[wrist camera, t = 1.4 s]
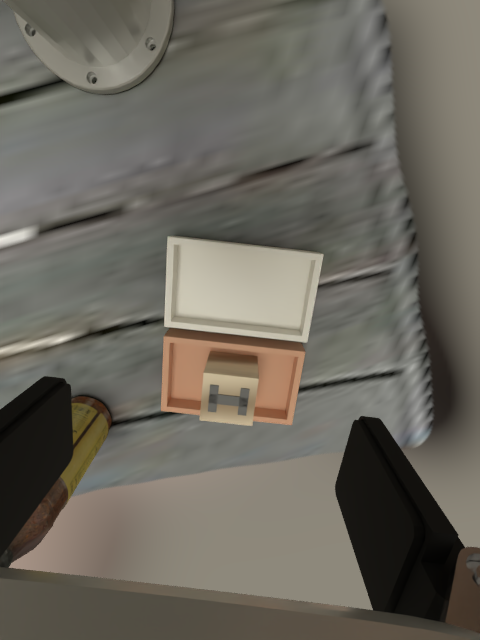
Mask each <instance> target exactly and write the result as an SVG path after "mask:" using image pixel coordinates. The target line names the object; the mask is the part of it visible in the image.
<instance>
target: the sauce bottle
mask: <svg viewBox="0 0 480 640" xmlns="http://www.w3.org/2000/svg"><path fill="white" fill-rule="evenodd" d="M71 402H72V426H73V449H74V451H73V457H72V459H71V462H70V463H69V465H68V466H67V468H66V469H65V470H64V472H63V473H62V474H61V476H60V477H59V478H58V480H57V481H56V483H55V484H54V485H53V487H52V488H51V489H50V491H49V492H48V493H47V495H46V496H45V498H44V499H43V500H42V502H41V503H40V504H39V506H38V507H37V508H36V510H35V511H34V513H33V514H32V515H31V517H30V518H29V519H28V521H27V522H26V523H25V525H24V526H23V528H22V529H21V530H20V532H19V533H18V534H17V536H16V537H15V538H14V540H13V541H12V543H11V544H10V545H9V547H8V548H7V549H6V551H5V552H4V553H3V555H2V556H1V558H0V567H6V568H9V566H10V564H11V563H12V562H14V561H15V560H17V559H18V558H20V557H22V556H23V555H25V554H27V553H28V552H29V551H31V550H33V549H34V548H35V547H36V546H37V545H38V544H39V543H40V542H41V541H42V539H43V538H44V537H45V535H46V534H47V533H48V531H49V530H50V529H51V527H52V526H53V523H54V521H55V520H56V518H57V516H58V515H59V513H60V511H61V510H62V509H63V508H64V507H65V505H66V504H67V502H68V500H69V499H70V497H71V496H72V494H73V492H74V490H75V489H76V487H77V485H78V484H79V482H80V480H81V479H82V477H83V475H84V474H85V472H86V470H87V469H88V467H89V465H90V464H91V462H92V460H93V459H94V457H95V456H96V454H97V452H98V451H99V449H100V447H101V446H102V444H103V442H104V441H105V439H106V437H107V434H108V431H109V429H110V426H111V423H112V419H111V416H110V413H109V412H108V410H107V408H106V407H105V406H104V405H103V403H101V402H100V401H98V400H96V399H93V398H90V397H87V396H86V397H85V396H78V397H75V398H72V399H71Z"/></svg>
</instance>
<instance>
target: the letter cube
mask: <svg viewBox="0 0 480 640" xmlns="http://www.w3.org/2000/svg"><path fill="white" fill-rule="evenodd" d="M258 381H259V374H258V359H257V356H252V355H243V354H234V353H225V352H216V351H210V353H209V356H208V359H207V363H206V366H205V369H204V373H203V385H202V397H201V409H200V420H203V421H212V422H221V423H230V424H239V425H248V426H252V423H253V416H254V409H255V402H256V395H257V388H258Z"/></svg>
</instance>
